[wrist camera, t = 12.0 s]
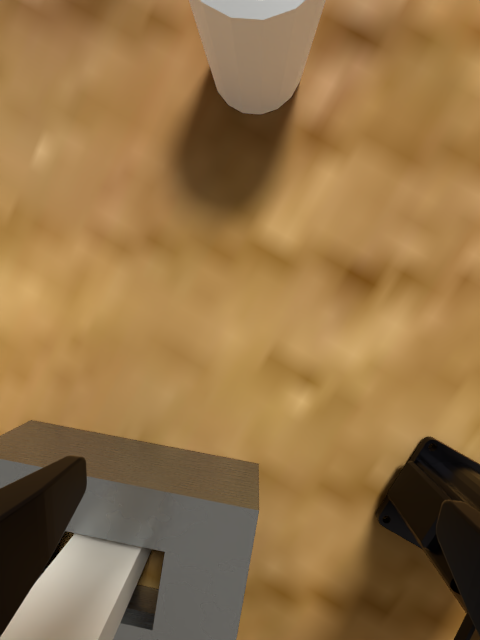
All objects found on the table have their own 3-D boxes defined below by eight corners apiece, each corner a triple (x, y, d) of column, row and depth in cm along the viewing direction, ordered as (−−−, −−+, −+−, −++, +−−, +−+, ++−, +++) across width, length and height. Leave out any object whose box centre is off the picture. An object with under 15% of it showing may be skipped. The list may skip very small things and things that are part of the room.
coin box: (258, 463, 20) (258, 510, 15) (232, 616, 20) (224, 704, 16) (30, 420, 20) (-33, 452, 16) (12, 568, 21) (-54, 639, 17)
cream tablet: (160, 507, 20) (7, 829, 8) (155, 541, 20) (-5, 911, 8) (104, 495, 20) (-133, 792, 8) (99, 530, 21) (-141, 873, 8)
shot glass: (262, 147, 19) (266, 53, 12) (181, 78, 19) (136, -56, 12) (335, 58, 18) (384, -95, 11) (251, -12, 18) (247, -208, 11)
